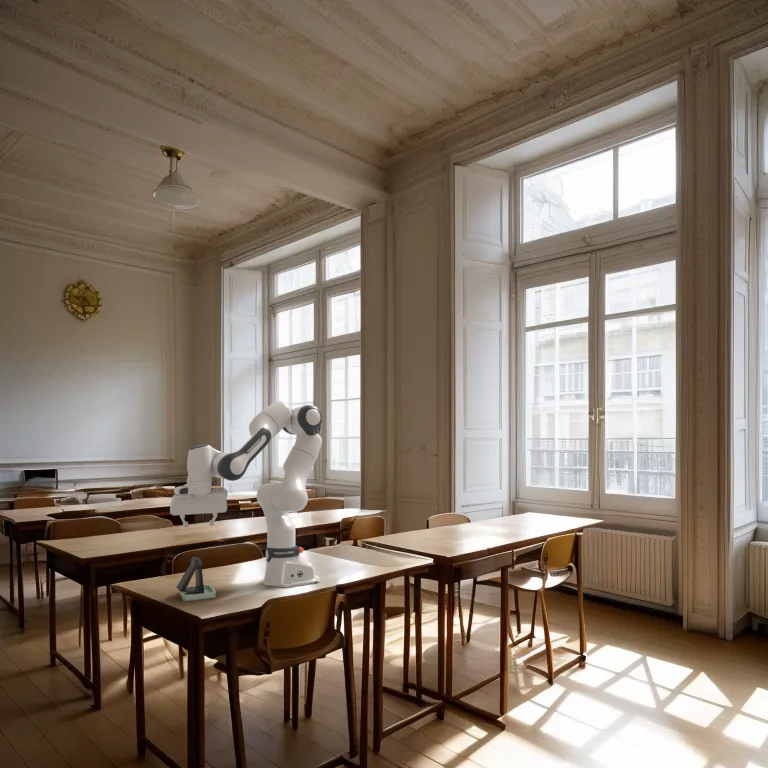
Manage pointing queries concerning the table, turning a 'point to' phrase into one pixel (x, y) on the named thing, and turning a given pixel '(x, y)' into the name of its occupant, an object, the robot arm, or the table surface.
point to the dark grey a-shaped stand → (188, 575)
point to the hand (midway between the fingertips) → (198, 526)
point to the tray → (208, 594)
